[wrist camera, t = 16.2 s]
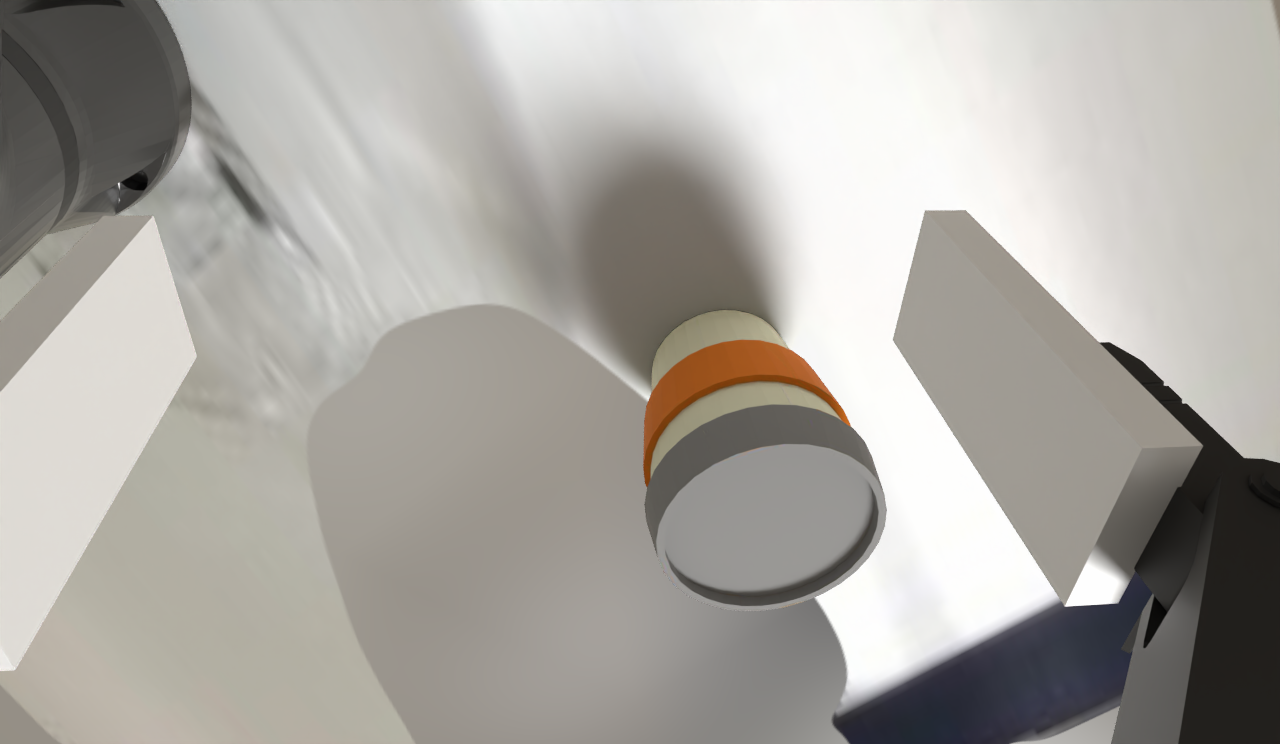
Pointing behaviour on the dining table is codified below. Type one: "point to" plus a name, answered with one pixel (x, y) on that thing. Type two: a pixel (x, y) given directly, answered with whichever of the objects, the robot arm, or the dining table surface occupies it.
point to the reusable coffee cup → (752, 469)
